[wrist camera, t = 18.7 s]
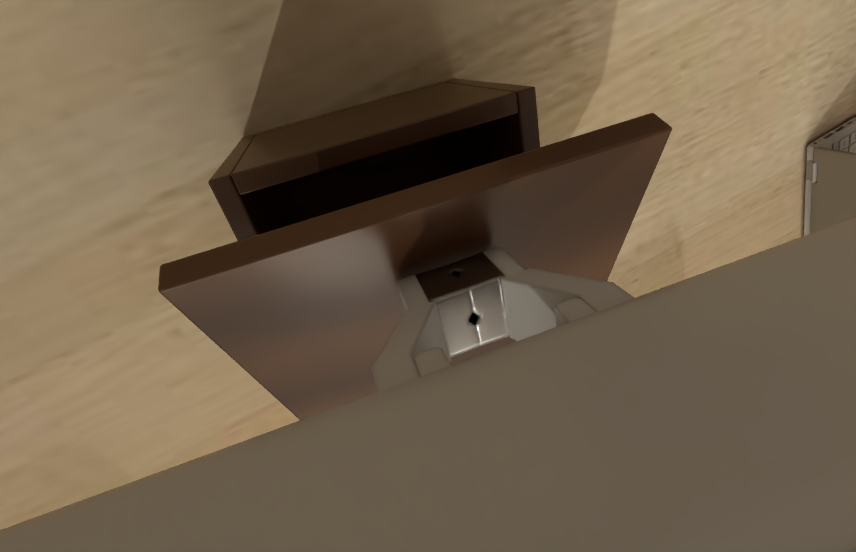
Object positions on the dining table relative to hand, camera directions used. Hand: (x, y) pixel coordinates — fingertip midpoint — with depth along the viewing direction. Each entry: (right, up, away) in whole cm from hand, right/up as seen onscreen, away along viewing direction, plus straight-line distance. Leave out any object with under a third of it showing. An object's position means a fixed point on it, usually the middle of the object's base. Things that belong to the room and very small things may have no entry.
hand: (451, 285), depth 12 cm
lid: (0, -2, +5) cm, 5 cm away
